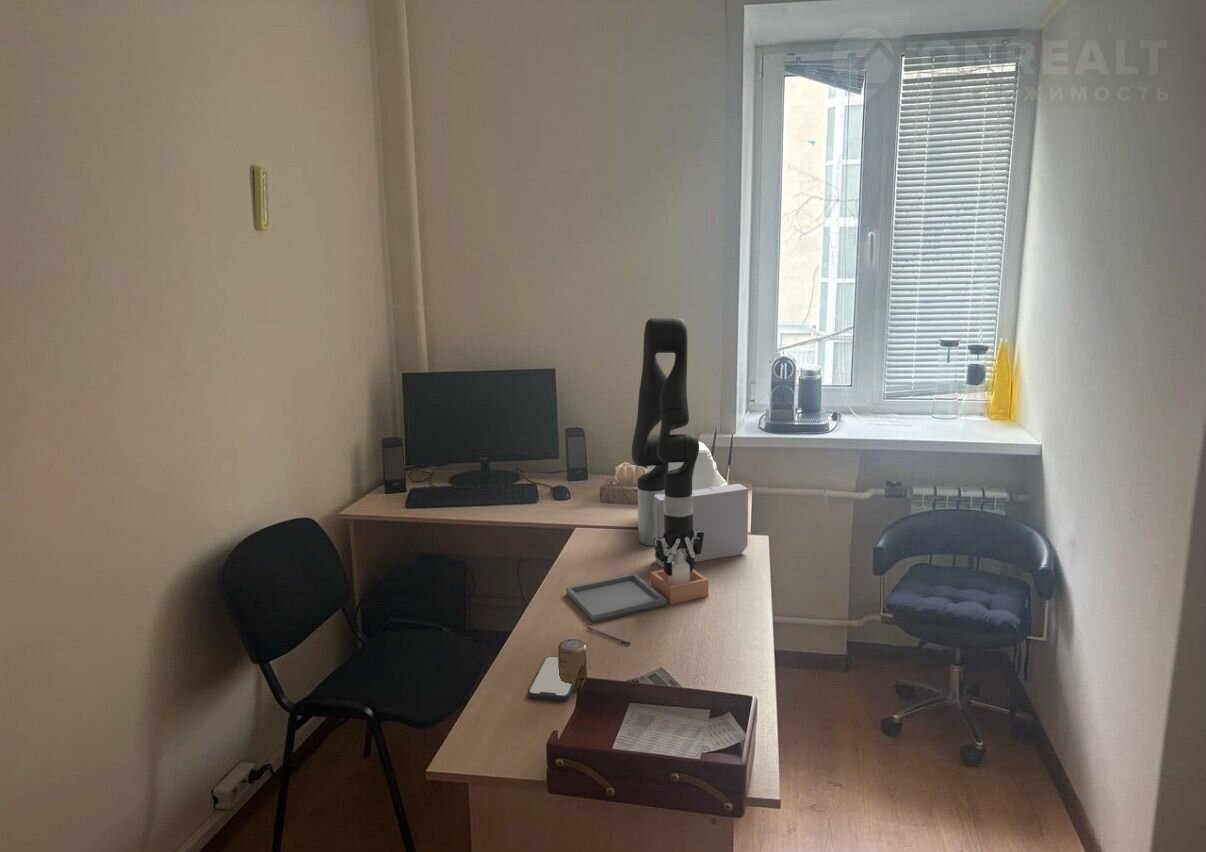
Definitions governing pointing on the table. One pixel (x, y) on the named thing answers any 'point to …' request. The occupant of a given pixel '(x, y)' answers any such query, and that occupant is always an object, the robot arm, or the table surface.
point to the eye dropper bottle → (679, 570)
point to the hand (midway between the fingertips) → (679, 572)
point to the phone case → (549, 683)
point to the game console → (713, 521)
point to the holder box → (680, 587)
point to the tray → (615, 597)
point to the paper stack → (701, 470)
